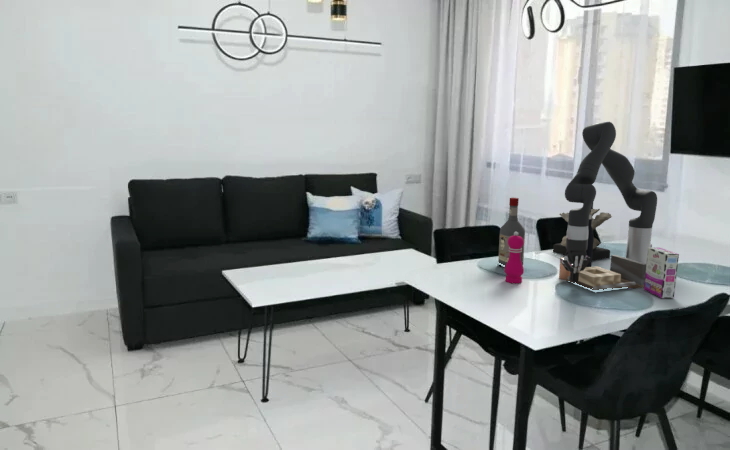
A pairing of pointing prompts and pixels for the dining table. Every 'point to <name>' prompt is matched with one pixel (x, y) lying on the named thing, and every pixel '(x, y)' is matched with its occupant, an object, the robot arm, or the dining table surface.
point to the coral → (597, 251)
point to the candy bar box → (661, 272)
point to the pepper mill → (514, 259)
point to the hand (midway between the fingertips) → (574, 281)
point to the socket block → (598, 277)
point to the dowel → (563, 272)
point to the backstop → (624, 273)
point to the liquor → (510, 233)
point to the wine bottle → (590, 240)
